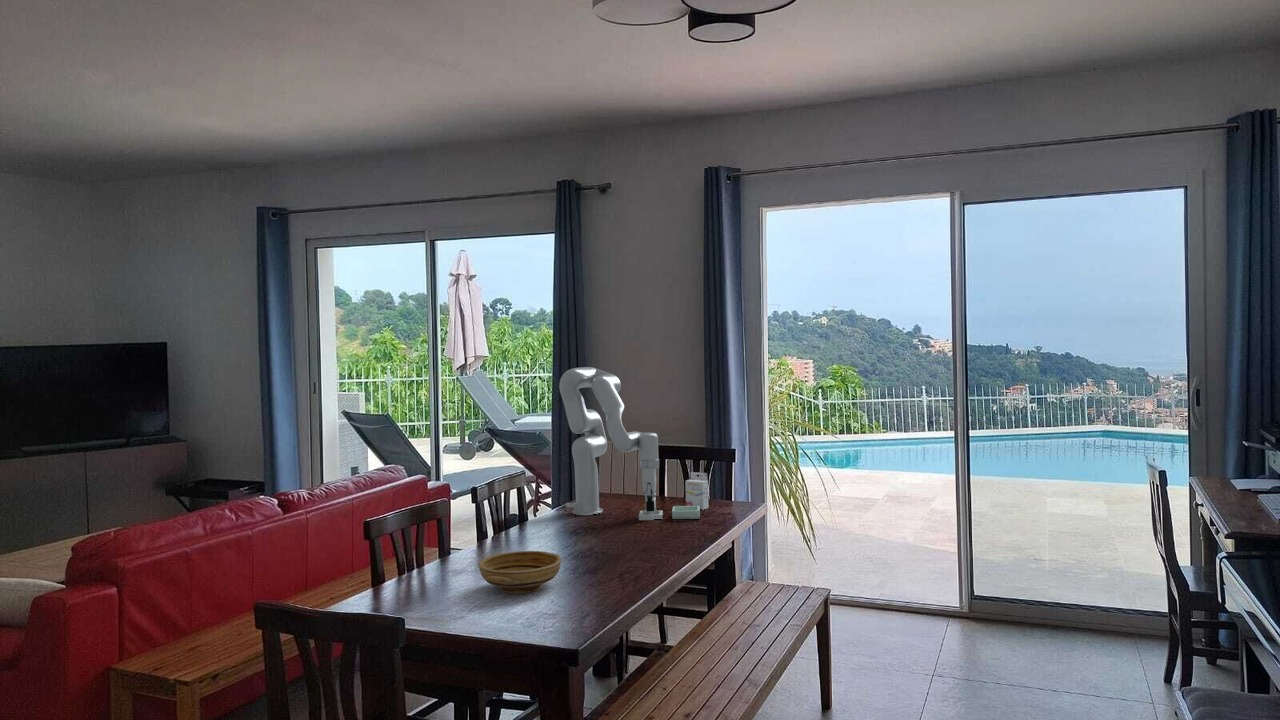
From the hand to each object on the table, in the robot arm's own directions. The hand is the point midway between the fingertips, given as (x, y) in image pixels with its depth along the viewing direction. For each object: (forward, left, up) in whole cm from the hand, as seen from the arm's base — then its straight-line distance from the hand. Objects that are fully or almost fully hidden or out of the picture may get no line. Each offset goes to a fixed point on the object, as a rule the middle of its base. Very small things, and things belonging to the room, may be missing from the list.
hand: (650, 509), depth 350 cm
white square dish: (0, 0, -3) cm, 3 cm away
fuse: (0, 0, -3) cm, 3 cm away
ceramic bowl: (-31, -97, -4) cm, 102 cm away
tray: (+14, 0, -3) cm, 14 cm away
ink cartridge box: (+18, +18, -4) cm, 26 cm away
